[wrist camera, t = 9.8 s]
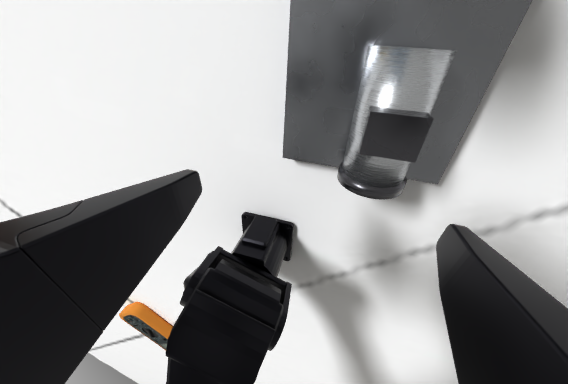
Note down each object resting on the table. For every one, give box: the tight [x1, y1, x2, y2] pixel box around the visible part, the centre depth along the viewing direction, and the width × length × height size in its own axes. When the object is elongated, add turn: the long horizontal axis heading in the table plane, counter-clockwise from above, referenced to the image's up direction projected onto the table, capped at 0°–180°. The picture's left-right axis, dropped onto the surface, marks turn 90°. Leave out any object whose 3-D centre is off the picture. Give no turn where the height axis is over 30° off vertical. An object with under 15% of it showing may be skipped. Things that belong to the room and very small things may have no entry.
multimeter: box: [119, 302, 173, 350], centre depth 57 cm, size 9×18×3 cm, turn 39°
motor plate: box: [283, 0, 532, 199], centre depth 12 cm, size 20×13×7 cm, turn 177°
